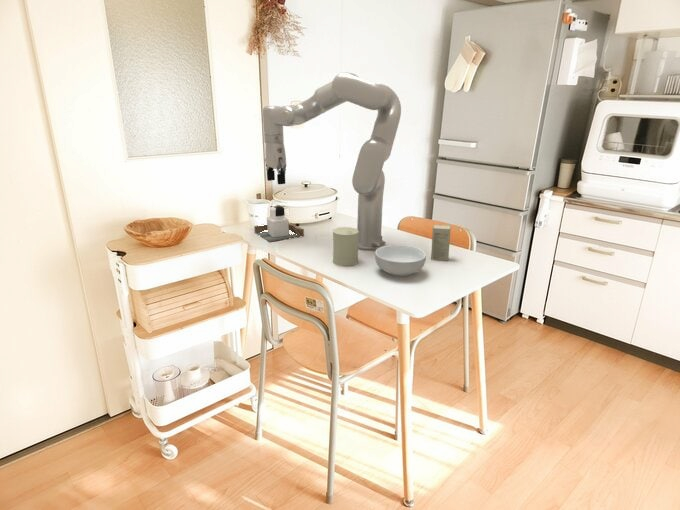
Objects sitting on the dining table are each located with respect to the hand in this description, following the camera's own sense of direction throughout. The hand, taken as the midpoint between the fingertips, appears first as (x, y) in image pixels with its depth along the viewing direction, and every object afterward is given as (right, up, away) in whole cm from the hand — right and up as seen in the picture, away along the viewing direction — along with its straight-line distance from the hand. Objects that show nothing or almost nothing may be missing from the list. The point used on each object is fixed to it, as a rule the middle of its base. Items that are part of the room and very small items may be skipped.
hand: (276, 182), depth 179 cm
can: (+28, -32, -20) cm, 47 cm away
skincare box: (+63, -31, -17) cm, 72 cm away
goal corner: (0, -21, +9) cm, 23 cm away
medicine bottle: (0, -21, +8) cm, 23 cm away
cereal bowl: (+46, -36, -29) cm, 65 cm away
